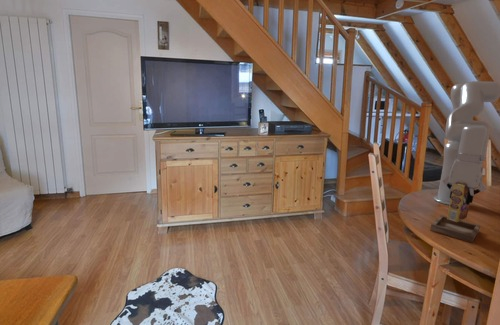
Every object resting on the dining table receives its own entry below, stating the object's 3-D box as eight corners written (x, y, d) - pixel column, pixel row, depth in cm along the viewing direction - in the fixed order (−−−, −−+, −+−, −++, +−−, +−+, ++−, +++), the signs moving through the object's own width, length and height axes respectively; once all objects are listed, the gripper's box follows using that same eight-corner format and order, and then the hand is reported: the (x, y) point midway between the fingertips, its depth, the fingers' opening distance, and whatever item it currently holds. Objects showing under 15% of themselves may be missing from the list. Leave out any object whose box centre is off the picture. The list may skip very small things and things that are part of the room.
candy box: (458, 223, 122) (464, 185, 119) (446, 219, 125) (452, 183, 122) (467, 218, 127) (474, 182, 124) (456, 215, 130) (462, 180, 127)
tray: (439, 220, 137) (440, 215, 137) (478, 231, 128) (480, 225, 127) (430, 230, 127) (431, 224, 127) (472, 242, 118) (473, 236, 117)
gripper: (497, 160, 117) (487, 205, 121) (446, 153, 129) (438, 194, 133) (494, 163, 112) (484, 210, 116) (441, 155, 123) (434, 198, 128)
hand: (460, 201), depth 124 cm, fingers closed on candy box, 4 cm apart
